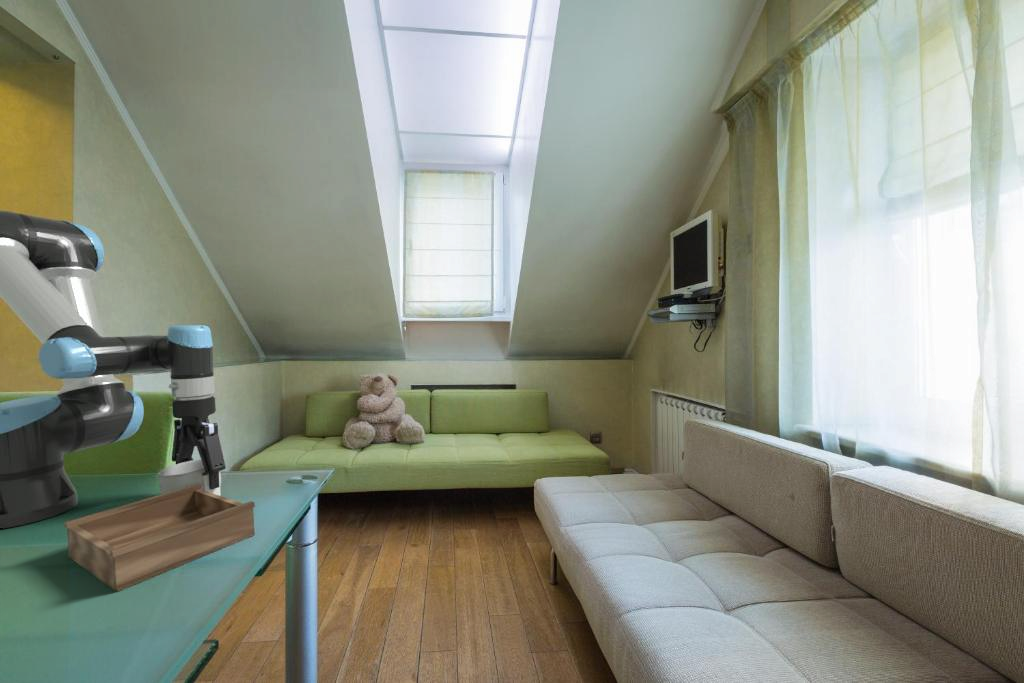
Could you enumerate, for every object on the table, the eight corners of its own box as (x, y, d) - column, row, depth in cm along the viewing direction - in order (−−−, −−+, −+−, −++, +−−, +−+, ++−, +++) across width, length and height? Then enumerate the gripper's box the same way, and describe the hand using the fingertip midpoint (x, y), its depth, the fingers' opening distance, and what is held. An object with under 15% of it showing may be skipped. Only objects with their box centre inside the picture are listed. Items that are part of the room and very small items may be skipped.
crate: (67, 557, 72) (64, 522, 72) (200, 512, 89) (198, 483, 89) (115, 592, 62) (112, 552, 61) (256, 534, 78) (254, 502, 78)
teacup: (189, 514, 88) (187, 474, 88) (145, 510, 90) (143, 472, 90) (245, 488, 102) (243, 453, 101) (206, 486, 104) (204, 452, 104)
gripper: (149, 396, 98) (155, 495, 98) (200, 403, 86) (207, 515, 86) (188, 391, 104) (193, 484, 105) (241, 397, 92) (246, 502, 93)
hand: (199, 498), depth 96 cm, fingers open, 11 cm apart
